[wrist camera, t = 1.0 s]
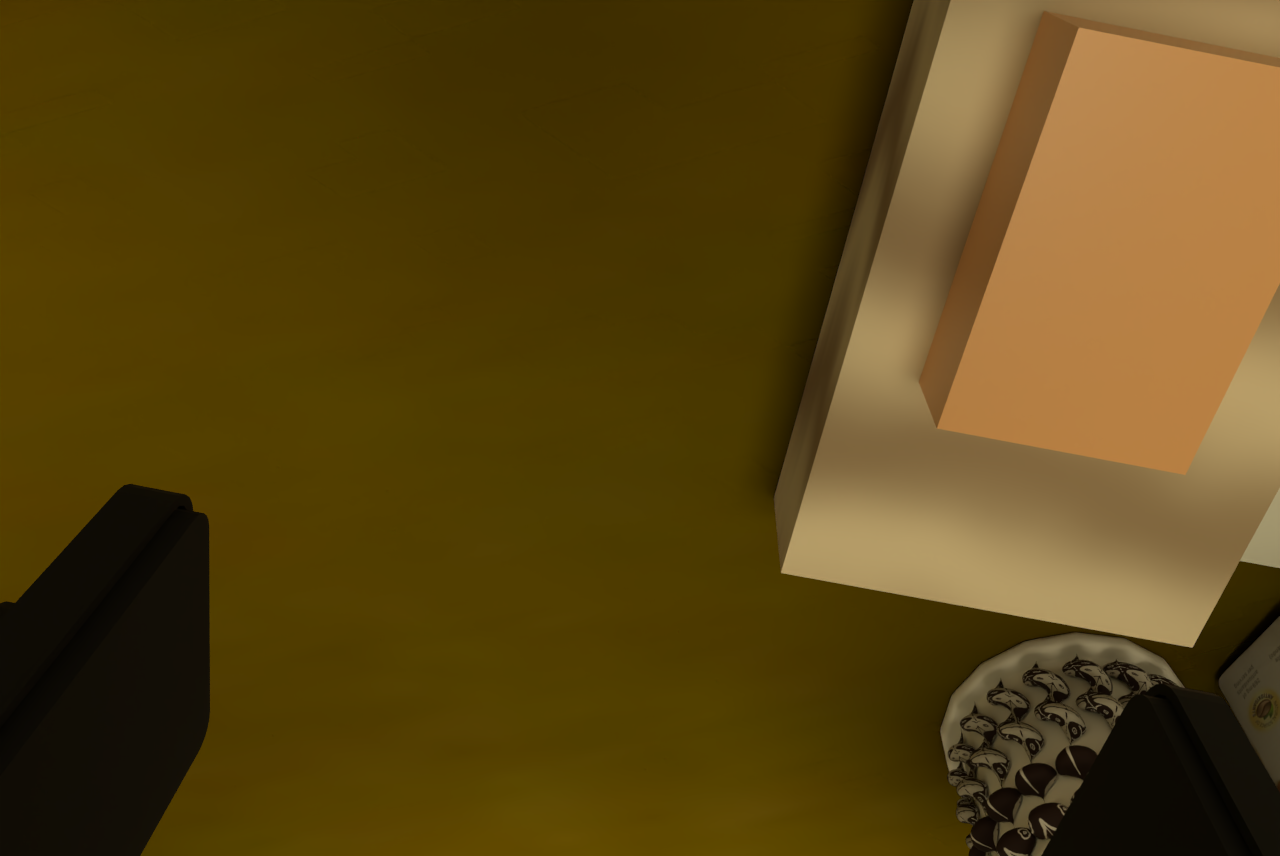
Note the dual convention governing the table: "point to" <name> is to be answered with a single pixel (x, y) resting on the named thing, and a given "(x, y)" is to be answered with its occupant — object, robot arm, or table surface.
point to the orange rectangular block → (1115, 248)
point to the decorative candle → (1037, 732)
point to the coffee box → (1258, 696)
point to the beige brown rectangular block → (988, 468)
